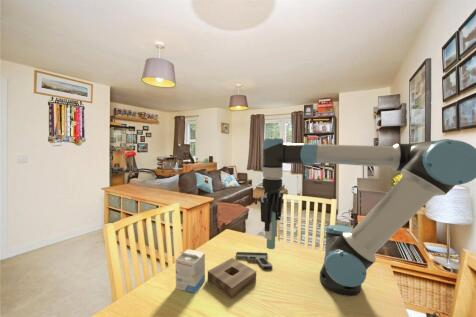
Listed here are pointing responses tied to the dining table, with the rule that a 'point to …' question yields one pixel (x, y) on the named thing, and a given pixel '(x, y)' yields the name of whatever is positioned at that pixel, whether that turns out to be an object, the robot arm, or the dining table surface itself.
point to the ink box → (190, 270)
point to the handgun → (256, 259)
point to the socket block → (231, 277)
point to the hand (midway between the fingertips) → (271, 237)
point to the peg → (272, 242)
